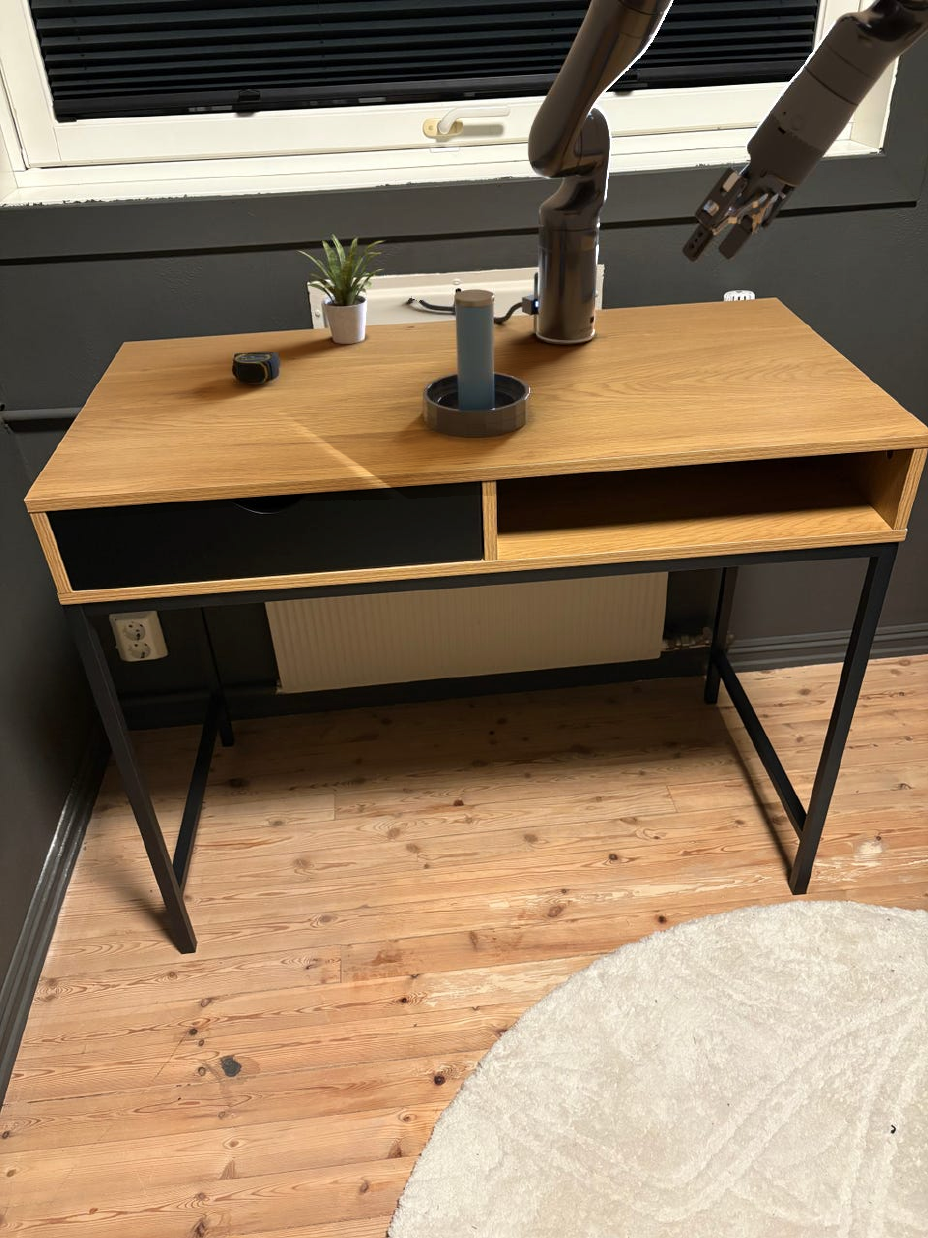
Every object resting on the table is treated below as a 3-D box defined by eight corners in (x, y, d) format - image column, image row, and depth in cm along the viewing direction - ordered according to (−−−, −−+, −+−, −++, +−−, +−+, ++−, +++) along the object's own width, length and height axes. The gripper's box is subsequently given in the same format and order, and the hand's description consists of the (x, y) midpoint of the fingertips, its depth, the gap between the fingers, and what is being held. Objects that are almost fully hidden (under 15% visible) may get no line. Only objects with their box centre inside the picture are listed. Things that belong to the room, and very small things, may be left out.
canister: (450, 414, 127) (446, 294, 118) (480, 405, 129) (478, 286, 120) (472, 426, 124) (469, 303, 114) (502, 416, 126) (502, 295, 117)
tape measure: (282, 371, 144) (279, 347, 141) (278, 387, 138) (275, 362, 136) (237, 373, 143) (233, 349, 141) (231, 390, 138) (227, 365, 135)
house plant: (416, 333, 156) (410, 229, 147) (365, 358, 147) (356, 249, 138) (348, 320, 163) (339, 220, 153) (296, 344, 153) (282, 239, 144)
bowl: (404, 415, 128) (402, 387, 126) (487, 390, 135) (487, 363, 132) (464, 450, 119) (463, 421, 116) (551, 422, 125) (551, 393, 123)
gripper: (805, 109, 105) (714, 234, 116) (746, 98, 95) (653, 236, 106) (852, 151, 103) (755, 274, 114) (797, 144, 93) (697, 279, 104)
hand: (706, 255), depth 110 cm, fingers open, 8 cm apart
